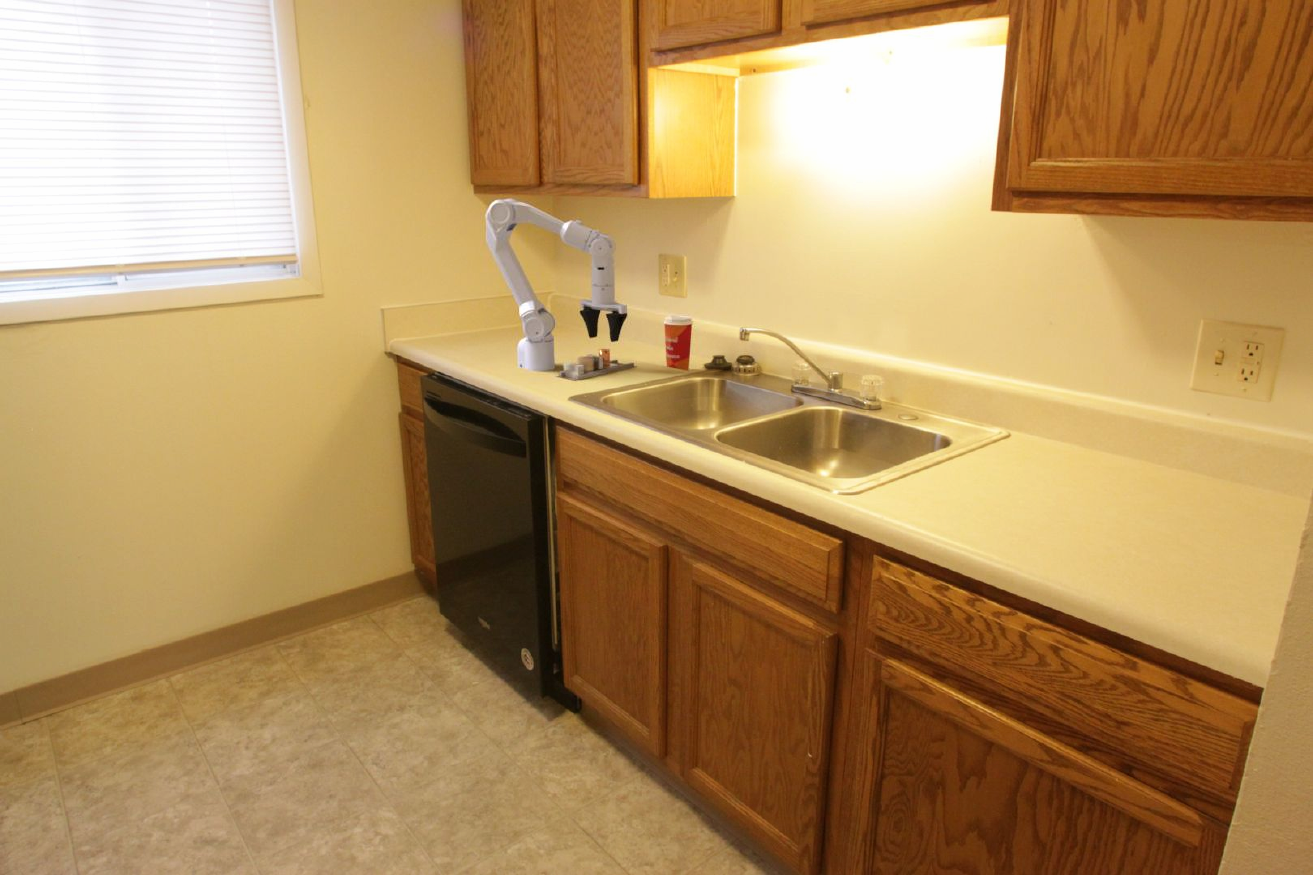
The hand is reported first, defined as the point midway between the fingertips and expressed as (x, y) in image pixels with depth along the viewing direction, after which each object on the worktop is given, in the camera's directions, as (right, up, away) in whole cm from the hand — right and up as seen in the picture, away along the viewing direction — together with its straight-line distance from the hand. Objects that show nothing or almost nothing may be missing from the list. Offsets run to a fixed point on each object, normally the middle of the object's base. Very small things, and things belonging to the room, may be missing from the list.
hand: (603, 339), depth 221 cm
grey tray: (-2, -9, +1) cm, 10 cm away
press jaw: (0, -7, +2) cm, 8 cm away
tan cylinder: (-4, -9, -2) cm, 10 cm away
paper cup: (+19, -8, +8) cm, 22 cm away
